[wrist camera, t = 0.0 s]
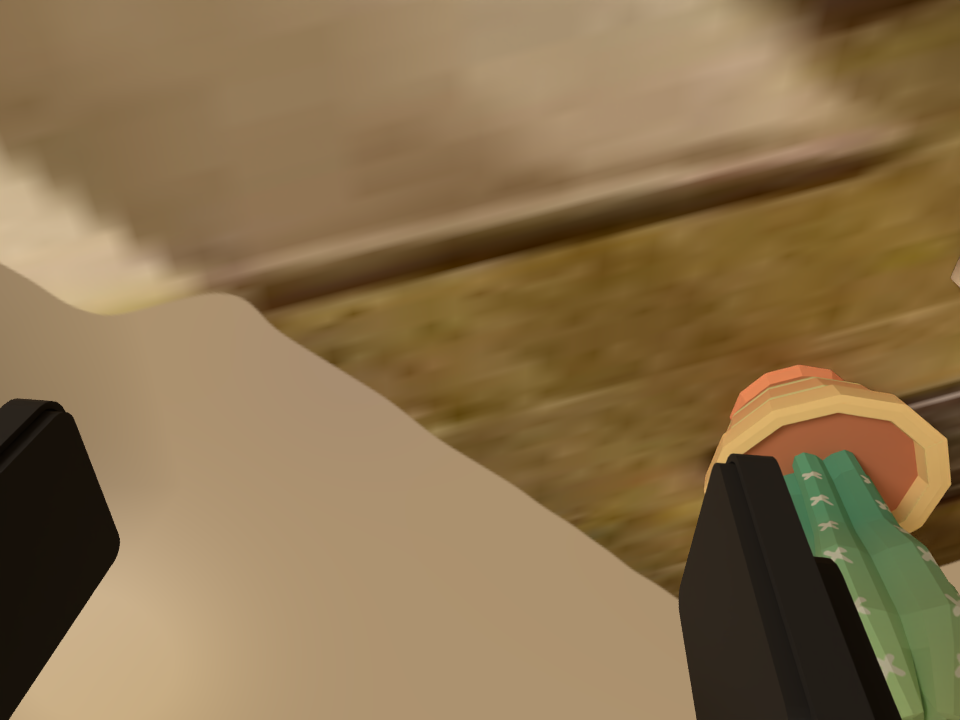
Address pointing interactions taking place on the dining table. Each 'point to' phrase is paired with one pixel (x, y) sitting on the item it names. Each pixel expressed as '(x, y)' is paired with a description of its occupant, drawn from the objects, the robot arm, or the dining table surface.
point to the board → (956, 273)
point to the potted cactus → (865, 516)
